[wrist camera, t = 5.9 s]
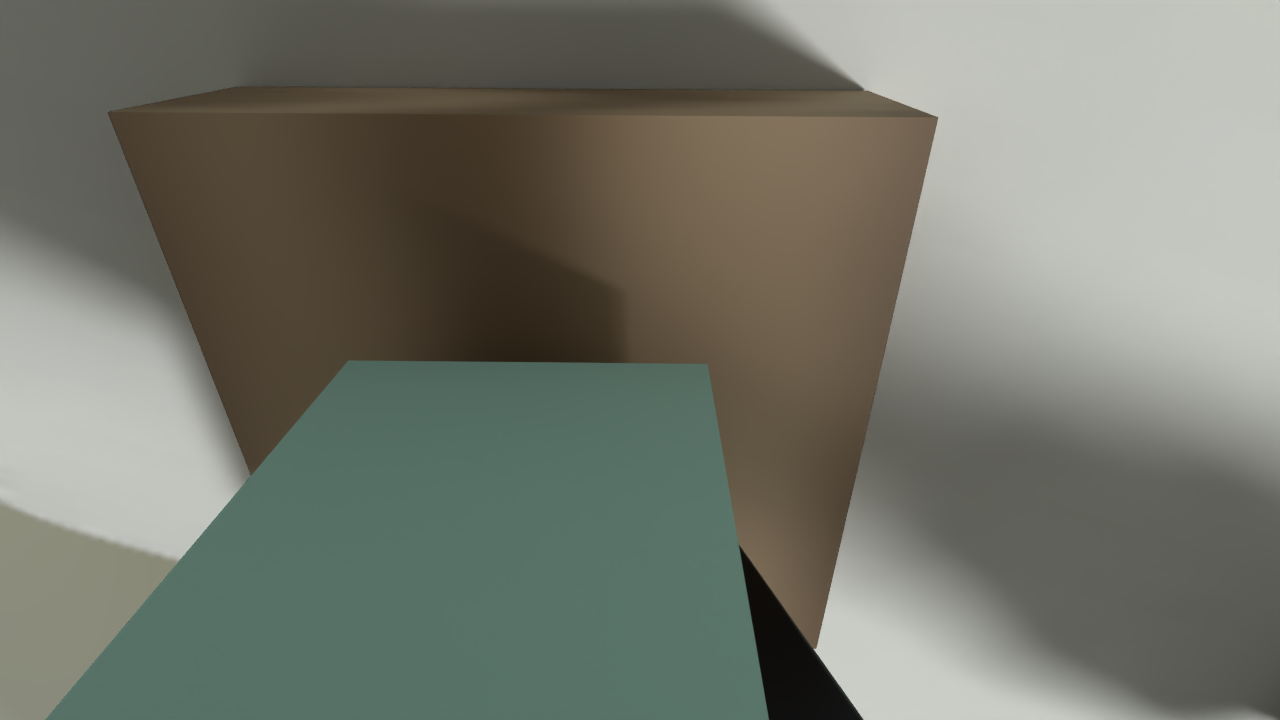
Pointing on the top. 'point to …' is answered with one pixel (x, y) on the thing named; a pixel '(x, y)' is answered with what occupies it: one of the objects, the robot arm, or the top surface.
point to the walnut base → (556, 258)
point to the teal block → (460, 561)
